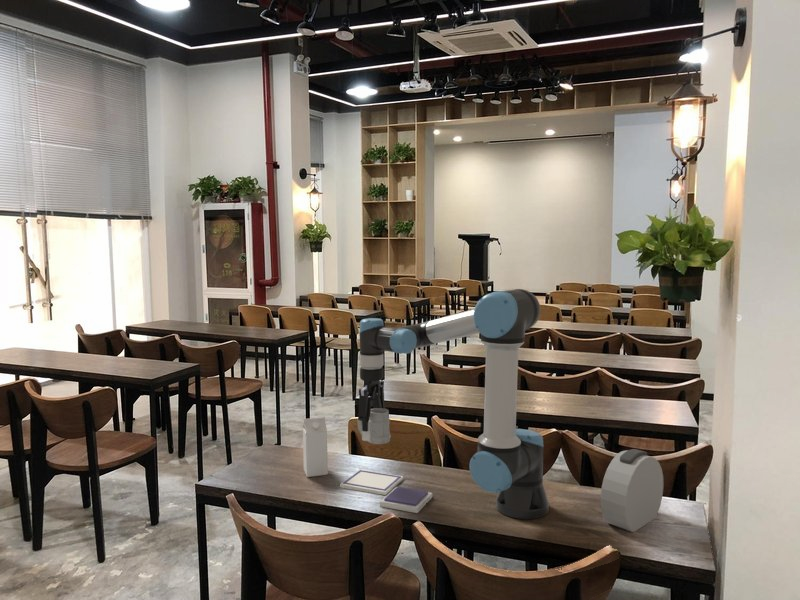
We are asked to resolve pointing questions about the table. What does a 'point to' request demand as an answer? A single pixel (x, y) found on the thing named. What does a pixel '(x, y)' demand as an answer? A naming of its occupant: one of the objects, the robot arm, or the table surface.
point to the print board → (372, 482)
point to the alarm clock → (631, 490)
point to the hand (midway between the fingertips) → (371, 436)
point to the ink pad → (406, 499)
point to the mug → (378, 426)
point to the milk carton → (315, 447)
